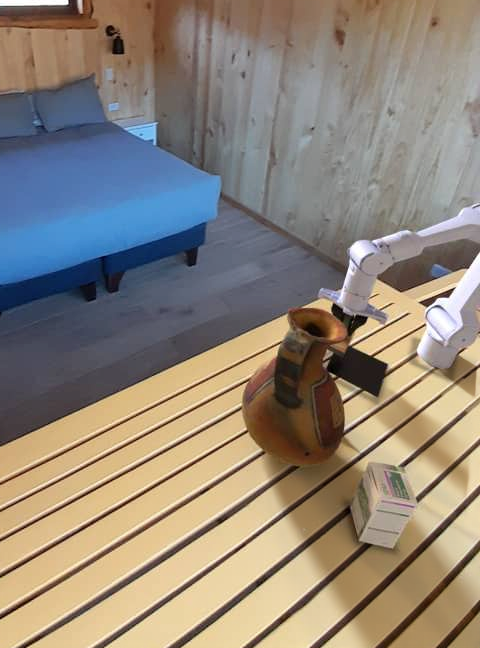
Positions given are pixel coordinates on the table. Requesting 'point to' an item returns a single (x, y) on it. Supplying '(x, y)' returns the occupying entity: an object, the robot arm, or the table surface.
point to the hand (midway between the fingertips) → (343, 330)
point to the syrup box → (382, 504)
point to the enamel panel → (359, 370)
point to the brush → (343, 346)
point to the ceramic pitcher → (298, 393)
